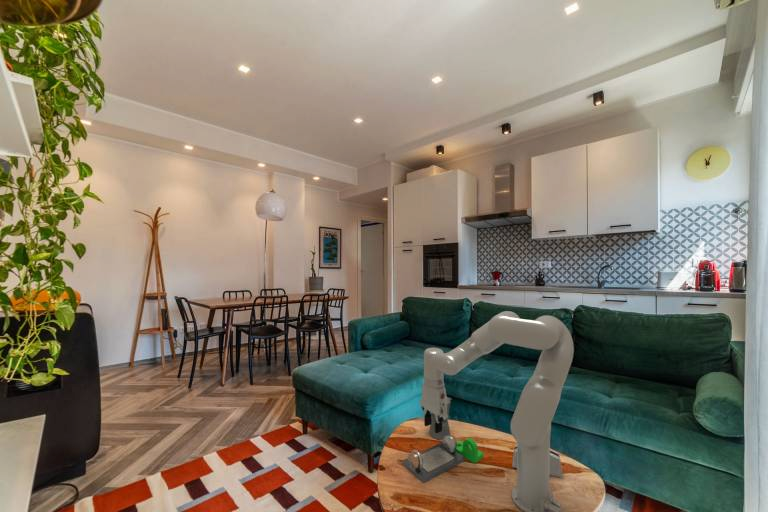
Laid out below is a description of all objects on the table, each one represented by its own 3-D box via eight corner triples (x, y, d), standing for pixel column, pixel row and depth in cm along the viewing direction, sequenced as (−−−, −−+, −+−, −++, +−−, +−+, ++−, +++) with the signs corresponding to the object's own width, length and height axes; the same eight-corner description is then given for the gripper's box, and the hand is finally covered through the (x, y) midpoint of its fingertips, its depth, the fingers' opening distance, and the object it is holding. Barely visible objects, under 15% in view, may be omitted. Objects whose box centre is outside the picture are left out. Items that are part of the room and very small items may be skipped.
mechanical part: (483, 458, 127) (483, 438, 127) (474, 464, 124) (474, 443, 124) (458, 444, 137) (458, 425, 137) (449, 450, 133) (449, 430, 133)
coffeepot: (444, 425, 151) (444, 387, 151) (458, 435, 143) (458, 394, 143) (417, 434, 144) (417, 393, 144) (429, 445, 136) (429, 402, 136)
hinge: (560, 472, 119) (561, 446, 118) (563, 482, 115) (563, 456, 114) (511, 462, 125) (512, 437, 124) (512, 471, 121) (512, 446, 119)
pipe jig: (442, 445, 135) (442, 428, 135) (464, 461, 125) (464, 441, 125) (402, 464, 123) (402, 444, 123) (423, 482, 113) (423, 461, 113)
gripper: (457, 386, 119) (456, 435, 120) (425, 372, 133) (425, 416, 134) (442, 391, 115) (442, 442, 115) (411, 376, 129) (411, 421, 129)
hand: (433, 428), depth 124 cm, fingers open, 5 cm apart
